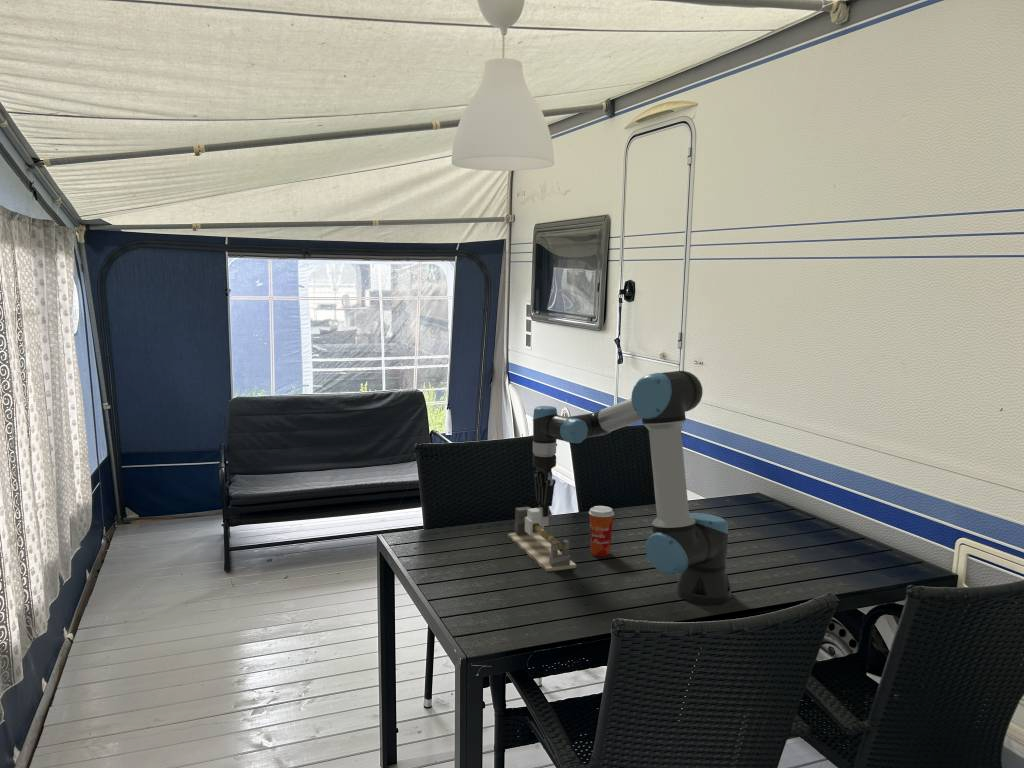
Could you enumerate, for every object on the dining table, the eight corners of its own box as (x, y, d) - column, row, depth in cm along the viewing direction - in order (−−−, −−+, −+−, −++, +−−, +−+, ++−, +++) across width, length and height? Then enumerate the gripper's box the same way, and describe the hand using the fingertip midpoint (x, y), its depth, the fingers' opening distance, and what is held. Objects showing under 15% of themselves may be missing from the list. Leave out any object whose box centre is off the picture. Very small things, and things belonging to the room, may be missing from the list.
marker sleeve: (543, 534, 256) (544, 511, 255) (530, 535, 254) (530, 512, 253) (537, 529, 260) (538, 507, 259) (524, 531, 259) (525, 508, 258)
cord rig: (576, 567, 239) (577, 536, 237) (546, 571, 235) (547, 540, 234) (534, 533, 270) (535, 505, 269) (508, 536, 267) (508, 508, 265)
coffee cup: (583, 554, 250) (584, 510, 248) (593, 547, 257) (594, 503, 255) (607, 559, 246) (609, 514, 244) (616, 551, 253) (618, 507, 251)
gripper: (563, 457, 242) (562, 530, 245) (547, 449, 254) (546, 518, 257) (541, 459, 239) (540, 532, 242) (526, 450, 251) (525, 520, 254)
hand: (543, 525), depth 249 cm, fingers closed
